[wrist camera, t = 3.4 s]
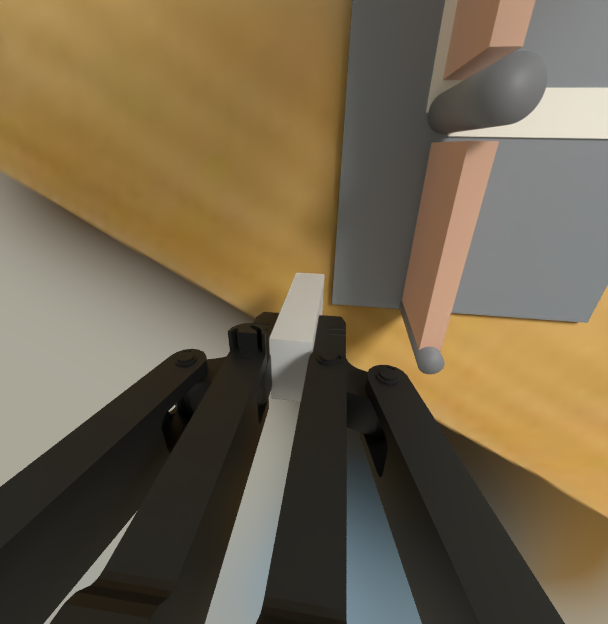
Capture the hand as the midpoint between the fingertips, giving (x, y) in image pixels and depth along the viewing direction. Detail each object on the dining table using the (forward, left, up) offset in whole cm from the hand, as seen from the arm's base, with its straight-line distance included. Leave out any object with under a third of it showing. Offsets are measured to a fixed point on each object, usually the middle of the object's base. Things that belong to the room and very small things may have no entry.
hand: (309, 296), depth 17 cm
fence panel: (-3, +6, -4) cm, 8 cm away
